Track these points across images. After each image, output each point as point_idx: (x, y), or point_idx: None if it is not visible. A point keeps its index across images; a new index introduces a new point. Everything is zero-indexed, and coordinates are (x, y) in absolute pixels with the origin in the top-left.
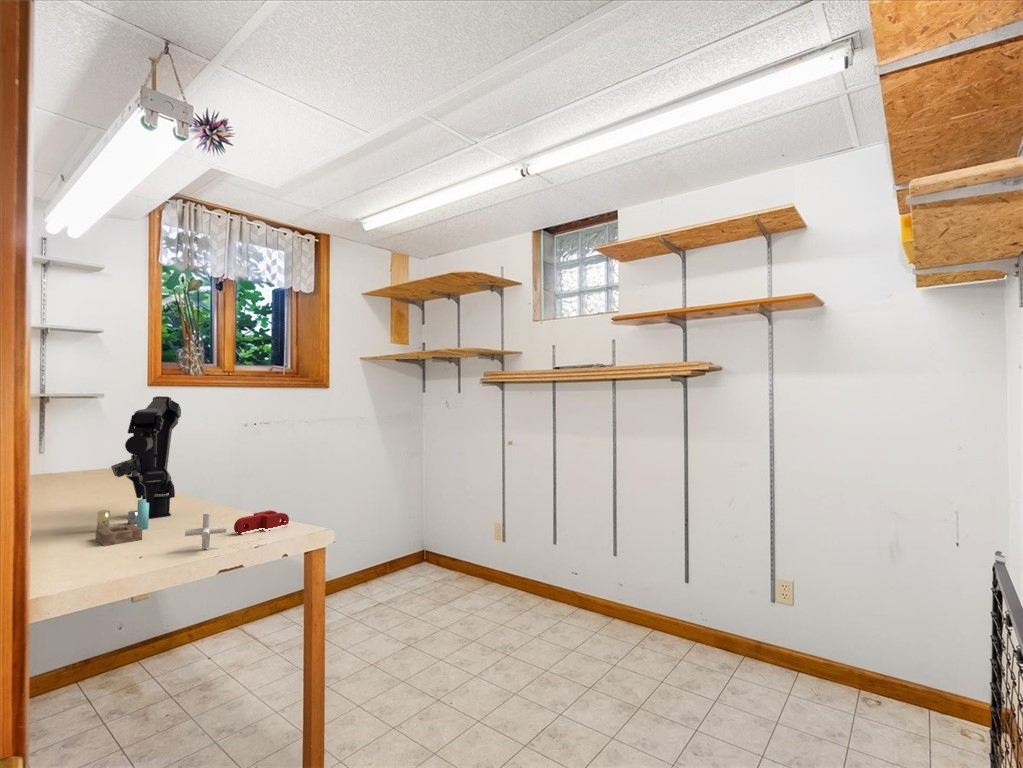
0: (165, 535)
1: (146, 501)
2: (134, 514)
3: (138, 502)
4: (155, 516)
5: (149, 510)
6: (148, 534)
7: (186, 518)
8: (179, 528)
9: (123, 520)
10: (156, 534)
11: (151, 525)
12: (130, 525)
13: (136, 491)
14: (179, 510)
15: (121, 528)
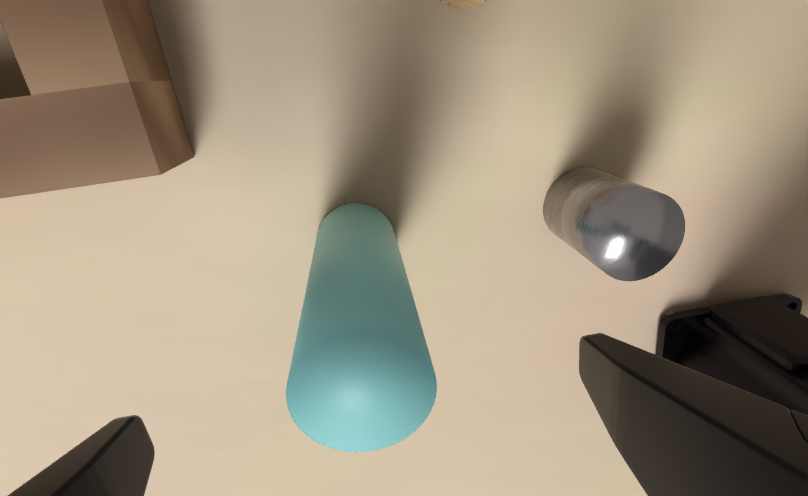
0: (29, 348)
1: (106, 427)
2: (583, 232)
3: (330, 322)
4: (661, 350)
5: (733, 343)
6: (121, 256)
7: (508, 483)
8: (226, 434)
9: (747, 156)
10: (94, 302)
11: (434, 302)
12: (93, 148)
13: (651, 395)
14: None
15: (20, 55)
